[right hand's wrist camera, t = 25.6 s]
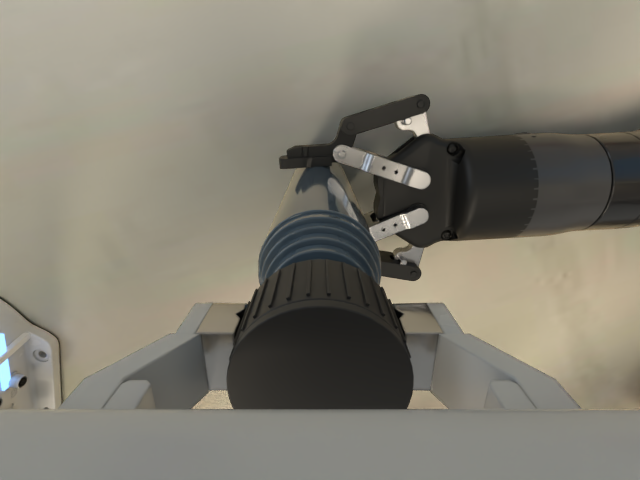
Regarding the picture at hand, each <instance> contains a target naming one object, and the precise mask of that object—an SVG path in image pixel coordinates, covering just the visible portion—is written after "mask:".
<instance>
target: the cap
mask: <svg viewBox="0 0 640 480" xmlns="http://www.w3.org/2000/svg"><path fill="white" fill-rule="evenodd" d="M406 343H407V342H406V339H405V337H404V334H403V331H402V329H401V326H400V324H399V321H398V319H397V316H396V313H395V311H394V308H393V306H392V303H391V300H390V299H389V300H388V299H387V296H386V294H385V291H384V289H383V287H380V286H379V285H378V284H377V283H376V282H375V281H374V278H373V277H372V276H371V277H370V276H369V275H367V274H366V273H365V272H363V271H361V270H360V268H356V267H354V266H351V265H349V264H346V263H345V262H339V261H333V260H329V259H326V260H324V259H316V260H312V259H310V260H306V261H301V262H297V263H292V264H291V265H288V266H286V267H284V268H282V269H279V270H277V272H275V273H274V274H272V275H271V276H270V277H269V278H266V279H265V280H264V282H263V284H262V285H261V286H260V287H259V288H258V289H256V290H255V292H254V294H253V297H252V300H251V302H250V301H249V302H248V305H247V308H246V310H245V313H244V316H243V318H242V321H241V324H240V326H239V329H238V332H237V334H236V337H235V340H234V342H233V345H234V346H233V349H232V352H231V354H230V357H229V365H228V369H227V377H226V381H227V391H228V395H229V399H230V402H231V404H232V407H233V409H407V407H408V405H409V402H410V399H411V396H412V392H413V386H414V374H413V367H412V363H411V360H410V358H411V355H410V352H409V350H408V347H407V344H406Z"/></svg>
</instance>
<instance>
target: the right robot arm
mask: <svg viewBox="0 0 640 480" xmlns="http://www.w3.org/2000/svg"><path fill="white" fill-rule="evenodd" d="M247 305H248V304H246V303H196V304H195V305H194V306H193V308H192V309H191V311H190V312H189V314H188V315H187V317H186V318H185V320H184V321H183V323H182V324H181V326H180V327H179V329H178V330H177V332H176V333H175V334H168V335H166V336H165V337H163V338H161V339H159V340H157V341H155V342H153V343H151V344H149V345H147V346H146V347H144V348H142V349H140V350H138V351H136V352H134V353H132V354H130V355H128V356H127V357H125V358H123V359H121V360H119V361H117V362H115V363H113V364H111V365H109V366H108V367H106V368H104V369H102V370H100V371H98V372H96V373H94V374H92V375H90V376H89V377H87V378H85V379H84V380H83V381H82V382H81V383H80V384H79V385H78V386H77V388H76V389H75V390H74V391H73V392H72V393H71V394H70V395H69V396H68V398H67V399H66V400H65V401H64V402H63V403H61V381H60V359H59V343H58V340H57V339H56V337H54V336H53V335H52V334H50V333H49V332H47V331H45V330H43V329H41V328H39V327H37V326H35V325H33V324H31V323H30V322H28V321H27V320H26V319H25V318H24V317H22V316H21V315H20V314H19V313H18V312H17V311H16V310H15V309H14V308H12V307H11V306H10V305H8V304H7V303H6V302H4V301H3V300H1V299H0V480H640V409H581V407H580V406H579V405H578V404H577V403H576V402H575V401H574V400H573V398H572V397H571V396H570V395H569V394H568V393H567V392H566V391H565V389H564V388H563V387H562V386H561V385H560V384H559V383H558V382H557V380H556V379H554V378H552V377H550V376H548V375H546V374H545V373H543V372H541V371H539V370H537V369H535V368H533V367H531V366H529V365H528V364H526V363H524V362H522V361H520V360H518V359H516V358H514V357H512V356H511V355H509V354H507V353H505V352H503V351H501V350H499V349H497V348H495V347H494V346H492V345H490V344H488V343H486V342H484V341H482V340H480V339H478V338H477V337H475V336H473V335H471V334H464V333H463V331H462V330H461V328H460V327H459V325H458V324H457V322H456V321H455V319H454V318H453V316H452V315H451V313H450V312H449V310H448V309H447V307H446V306H445V304H443V303H406V304H392V306H393V308H394V311H395V313H396V316H397V319H398V321H399V324H400V326H401V329H402V331H403V334H404V337H405V339H406V342H407V343H406V344H407V347H408V350H409V352H410V355H411V358H410V360H411V363H412V367H413V374H414V386H413V390H430V391H431V393H432V394H433V395H434V396H435V397H436V398H438V399H439V400H440V401H441V402H442V403H443V404H444V405H445V406H446V407H447V408H448V409H191V408H192V407H193V406H195V405H196V404H197V403H198V402H199V401H200V400H201V399H202V398H203V397H204V396H205V395H206V394H207V393H208V392H209V390H227V381H226V377H227V369H228V365H229V357H230V354H231V352H232V349H233V346H234V345H233V342H234V340H235V337H236V334H237V332H238V329H239V326H240V324H241V321H242V318H243V316H244V313H245V310H246V308H247Z"/></svg>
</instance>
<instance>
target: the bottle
mask: <svg viewBox="0 0 640 480" xmlns="http://www.w3.org/2000/svg"><path fill="white" fill-rule="evenodd" d="M310 259H312V260H316V259H324V260H326V259H329V260H333V261H339V262H345V263H346V264H349V265H351V266H354V267H356V268H360V270H361V271H363V272H365V273H366V274H367V275H369V276H370V277H371V276H372V277H373V278H374V281H375V282H376V283H377V284H378V285H380V280H381V258H380V253H379V249H378V247H377V244H376V242H375V240H374V238H373V235H372V233H371V231H370V229H369V226H368V224H367V222H366V220H365V217H364V215H363V213H362V211H361V208H360V206H359V204H358V202H357V199H356V197H355V195H354V193H353V190H352V188H351V186H350V184H349V181H348V179H347V177H346V175H345V172H344V170H343V168H342V167H341V165H340V164H339V163H338V162H336V163H332V166H325V167H308V168H296V170H295V172H294V174H293V176H292V179H291V181H290V183H289V186H288V188H287V190H286V192H285V195H284V197H283V199H282V202H281V204H280V206H279V209H278V211H277V213H276V215H275V218H274V220H273V222H272V225H271V227H270V229H269V231H268V234H267V236H266V238H265V241H264V243H263V245H262V248H261V251H260V255H259V261H258V276H259V283H260V286H261V285H262V284H263V282H264V280H265V279H266V278H269V277H270V276H271V275H272V274H274V273H275V272H277V270H279V269H282V268H284V267H286V266H288V265H291V264H292V263H297V262H301V261H306V260H310Z"/></svg>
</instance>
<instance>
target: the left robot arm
mask: <svg viewBox="0 0 640 480" xmlns="http://www.w3.org/2000/svg"><path fill="white" fill-rule="evenodd" d="M429 106H430V100H429V98H428V97H427V96H426V95H424V94H420V95H415V96H410V97H407V98H404V99H401V100H397V101H394V102H391V103H388V104H385V105H382V106H379V107H375V108H372V109H369V110H366V111H363V112H360V113H356V114H353V115H350V116H347V117H344V118H343V119H342V120H341V122H340V126H339V129H338V133H337V136H336V138H335V140H334V141H333V142H331V143H329V144H316V145H299V146H293V147H291V148H289V149H288V150H287V155H286V156H281V157H280V158H279V164H280V169H291V168H308V167H325V166H332V163H336V162H339V163H342V164H345V165H348V166H351V167H354V168H357V169H361V170H363V171H365V172H368V173H371V174H374V185H375V189H376V196H375V199H374V210H373V211H371V212H369V213H366V214H364V217H365V220H366V222H367V224H368V226H369V229H370V231H371V233H372V235H373V238H374V240H375V241H378V240H381V239H383V238H385V237H388V236H390V235H393V234H396V235H397V236H399V237H400V238H402V239H404V240H405V241H407V242H408V243H409V244H408V246H406V247H404V248H396V249H395V250H394V251H393V253H392V252H386V251H380V250H379V253H380V258H381V276H385V277H391V278H397V279H403V280H409V281H416V280H418V279H419V278H420V276H421V270H420V269H419V263H420V259H421V256H422V253H423V249H424V248H425V247H428V246H430V245H432V244H434V243H436V242H439V241H460V240H479V239H497V238H515V237H533V236H546V235H554V234H559V233H564V232H570V231H582V230H600V229H617V228H629V227H637V226H640V129H639V130H636V131H632V132H613V133H597V134H577V135H573V134H561V133H536V134H531V133H517V134H514V135H502V136H486V137H469V138H452V139H442V138H440V137H438V136H436V135H434V134H430V131H429V126H428V120H427V115H426V111H427V110H428V109H429ZM391 123H394V124H395V126H396V128H398V129H400V130H410V131H411V132H412V133H413V135H414V136H413V137H412V138H411V139H409V140H408V141H407V142H406V143H404V144H403V145H402V146H401V147H399V148H398V149H397V150H395V151H394V152H393V153H392V154H390V155H389V156H388V157H386V156H383V155H380V154H377V153H374V152H370V151H367V150H363V149H360V148H357V147H354V146H353V144H354V140H355V137H356V134H358V133H362V132H365V131H368V130H371V129H375V128H378V127H381V126H384V125H387V124H391ZM376 217H377V218H376ZM383 228H384V229H383Z"/></svg>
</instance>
